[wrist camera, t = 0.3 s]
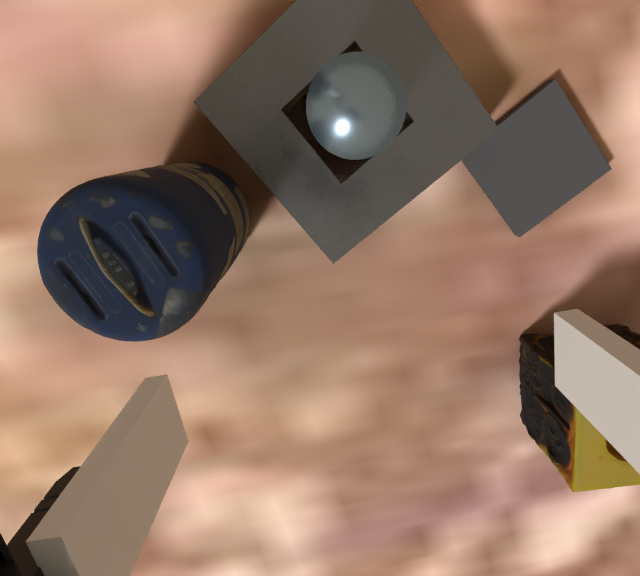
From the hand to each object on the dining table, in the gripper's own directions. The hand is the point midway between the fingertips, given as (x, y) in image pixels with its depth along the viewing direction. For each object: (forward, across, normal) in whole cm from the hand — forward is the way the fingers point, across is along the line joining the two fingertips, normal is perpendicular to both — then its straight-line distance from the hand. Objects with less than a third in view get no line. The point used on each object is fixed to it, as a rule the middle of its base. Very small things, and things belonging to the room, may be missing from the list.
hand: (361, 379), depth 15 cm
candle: (+27, +21, -18) cm, 38 cm away
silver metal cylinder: (+26, +2, +9) cm, 28 cm away
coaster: (+26, +17, +3) cm, 32 cm away
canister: (+27, -12, +3) cm, 29 cm away
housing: (+26, +2, +9) cm, 28 cm away
